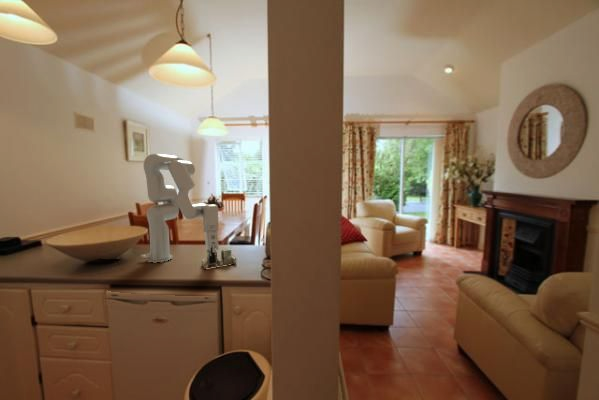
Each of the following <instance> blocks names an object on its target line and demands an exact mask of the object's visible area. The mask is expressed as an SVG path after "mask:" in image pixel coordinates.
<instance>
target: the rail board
mask: <svg viewBox="0 0 599 400" xmlns="http://www.w3.org/2000/svg"><path fill="white" fill-rule="evenodd" d="M220 253H221V255H220V256H221V257H220V256H217V260H216V264H213V265H208V263H207V259H205V258H202V259H201V266H202V265H203V266H202V268H203V267H204V268H205V269H206V268H211V267H217V266H223V265H229V264H236V263H237V262H238V261H237V257H235V256H234V254H232V249H231V248H229V247H227V248H221V252H220ZM204 268H203V269H204Z"/></svg>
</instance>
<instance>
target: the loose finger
mask: <svg viewBox="0 0 599 400" xmlns="http://www.w3.org/2000/svg"><path fill="white" fill-rule="evenodd" d="M211 250H212V249H211ZM215 251H216V260H217V257H218V252H217V249H215ZM211 252H212V251H211ZM209 256H210V251H209V250H206V261H207V263H208V265H213V264H216V263H211V264H210V263H209Z"/></svg>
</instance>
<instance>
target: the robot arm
mask: <svg viewBox="0 0 599 400" xmlns="http://www.w3.org/2000/svg"><path fill="white" fill-rule="evenodd" d="M160 170H162V171H163V170H164V171H166V170H167V171H169V173H170V175H171V177H172V179H173V181H174V183H175V185H176V188H177V190H178V191H177V190H176V188H175V187H174V186H173V185H170V184H169V185H166V183H165V177H164V176H163V174H162V172H161V171H160ZM143 171H144V173H145V179H146V190H147V198H148V200H149V201H150V202H151V203H161V204H155V205H151V206H150V207H148V208H147V209H146V219H147V223H148V228H149V229H148V231H149V247H150V251H149V253H146V254H141V255H140V258H141V259H143V260H144V259H147V262H148V263H150V262H153V263H152V264H157V262H160V263H164V261H165V262H168V260H169V261H171V260H172V259H173V258H174V256H173V255H172V254H171V253H170V229H169V225H168V224H167V222H166V221H168V220H173V219H176V218H177V217H178V216H179V212H180V211H181V214H182V215H183V216H184V218H185V219H187V220H194V219H195V220H196V219H199V218H202V231H203V232H204V234H205V235H204V236H205V237H204V239H205V240H204V241H205V242H204V243H205V247H206V249H207V250H209V251H210V256H209V263H210V264H211V263H216V252H217V250H219V247H220V246H219V236H218V231H219V207H218V205H217V204H215V203H214V204H213V203H212V204H207V203H203V202H201V203H199V202H198V203H192V202H191V200H190V198H189V192H190V191H191V190H192V189H194V187H195V182H194V180H193V178H192V176H193V175H194V174H195V173H196V172H195V171H196V168H195V166H194V163H192V162H191V161H189V160H187V159H184V158H181V157H179V156H176V155H173V154H171V155H170V154H163V153H152V154H149V155H147V156H146V157H145V158H144V160H143ZM179 210H180V211H179ZM211 249H212V250H211ZM207 250H206V251H207ZM215 250H216V251H215ZM211 251H212V252H211ZM170 259H171V260H170Z"/></svg>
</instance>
